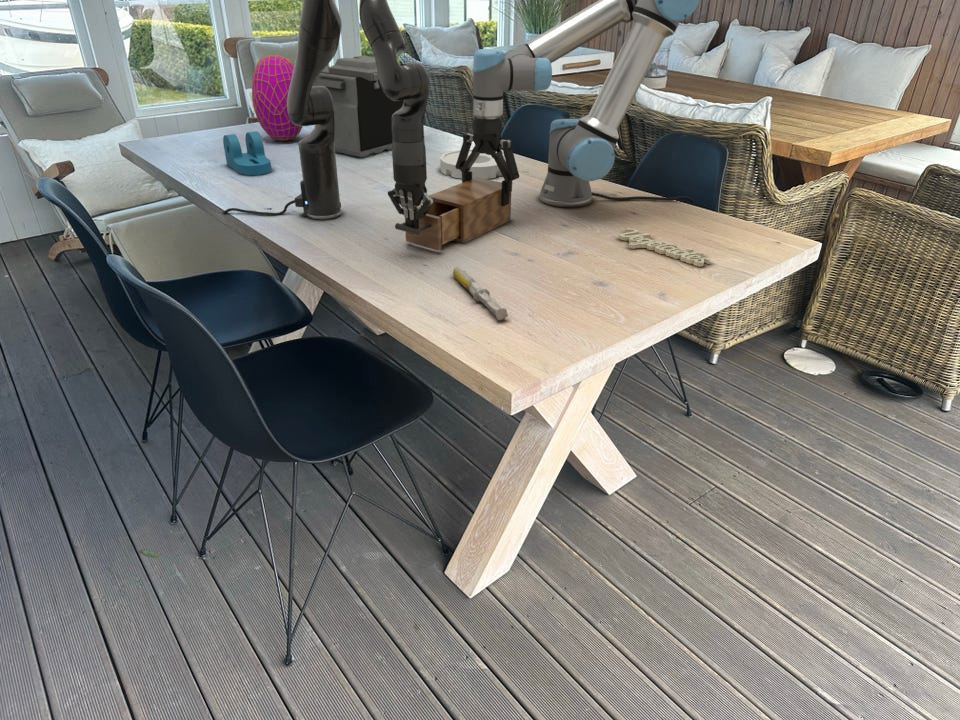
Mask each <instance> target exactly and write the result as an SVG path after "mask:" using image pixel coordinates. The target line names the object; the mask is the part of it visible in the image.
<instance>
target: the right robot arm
mask: <svg viewBox="0 0 960 720" xmlns="http://www.w3.org/2000/svg"><path fill="white" fill-rule="evenodd" d="M699 2H700V0H597V1H595V2H593V3H592V4H590V5H588V6H586V7H585V8H583V9H581V10H579V11H578V12H576V13H574V14H573V15H571V16H570V17H568V18H567V19H565V20H563V21H561V22H560V23H558V24H556V25H554V26H552V27H551V28H549V29H548V30H546V31H544V32H543V33H541V34H540V35H538V36H536V37H534V38H533V39H531V40H529V41H528V42H525V44H523V45H520V46H519V47H517V48H515V49H509V50H506V51H504V50H502V49H499V48H498V49H497V48H480V49H477V50H476V51H475V52H474V54H473V64H472V66H473V67H472V114H473V115H474V116H473V117H472V131H473V133H472V132H468V133H465V134H463V135H462V144H461V148H460V149H459V150H460V154H459V157H458V160H457V163H456V166H455V167H456V169H459V170H461V172H462V179H461V183H463V182H466V181H468V180H471V179H472V172H471V171H469V170H471V169H470V168H471V167H472V165H473V164H474V162H475V161H476V159H477V157H478V156H479V154H480V153H481V154H484V153H485V154H487V155H491V156H492V158H494V160H495V162H496V164H497V166H498V168H499V170H500V172H501V174H502V176H501V177H502V178H503V180H501V182H502V195H501V206H505V205H507V204H509V193H511V194H512V192H513V181H515V180H517V179H519V178H520V174H519V173H520V172H519V168H518V166H517V161H516V158H515V154H514V150H513V140H512V139H503V138H502V132H503V118H502V116H503V113H504V92H514V91H515V92H522V91H523V92H526V91H527V92H528V91H529V92H531V91H533V92H539V91H546V90H548V89H549V88H550V86H551V84H552V79H553V68H552V64H553V63H554V62H556V61H557V60H559V59H561V58H563V57H564V56H566V55H568V54H569V53H571V52H573V51H575V50H576V49H578V48H580V47H582V46H584V45H585V44H587V43H588V42H590V41H592V40H594V39H595V38H597V37H598V36H600V35H602V34H604V33H605V32H607V31H609V30H610V29H613V28H614V27H616V26H617V25H620V24H621V23H623V24H629V23H632V22H633V24H632V26H631V28H630V30H629V32H628V34H627V36H626V38H625V40H624V42H623V44H622V46H621V48H620V50H619V52H618V54H617V57H616V58H615V61H614V62H613V64H612V67H611V68H610V70H609V72H608V75H607V77H606V79H605V81H604V83H603V85H602V86H601V88H600V91H599V93H598V95H597V97H596V99H595V101H594V102H593V105H592V106H591V108H590V111H589V113H588V114H587V115H585V116H582V117H580V118H558V119H554V120H552V122H551V123H550V127H549V128H550V129H549V132H548V134H549V141H548V142H549V144H548V156H547V157H548V159H547V173H546V176H545V178H544V181H543V184H542V187H541V189H540V192H539V200H540V202H542V203H543V204H546V205H549V206H553V207H558V208H559V207H560V208H580V207H584V206H588V205H589V204H591V203H592V199H593V197H598V198H601V199H606V200H609V201H636V200H649V201H668V202H670V201H671V202H672V201H678V200H687V201H689V202H690V203H693V204H694V203H695V200H694V199H693V198H692V197H690V196H687V195H680V196H674V197H667V196H664V197H663V196H644V195H643V196H641V195H639V196H621V197H617V196H609V195H605V194H601V193H596V192H592V188H591V184H590V182H595V181H598V180H601V179H602V178H604V177H605V176H606V175H608V174H609V172H610V171H611V170H612V168H613V166H614V163H615V158H616V155H615V147H616V146H617V143H618V142H619V140H620V136H619V131H618V130H619V127H620V126H621V123H622V122H623V119H624V117H625V116H626V114H627V112H628V110H629V108H630V106H631V104H632V102H633V100H634V98H635V97H636V95H637V92H638V90H639V89H640V86H641V85H642V83H643V81H644V79H645V77H646V75H647V74H648V71H649V69H650V68H651V66H652V64H653V62H654V60H655V58H656V56H657V54H658V53H659V50H660V48H661V46H662V44H663V43H664V41H665V39H666V38H668V37H672V36H674V34H675V33H676V31H677V29H678V27H679V25H680V23H681V21H684V20H686V19H687V18H689V17H690V16H691V15H692V14H693V13H694V11H696V9H697V7H698V5H699ZM472 143H474V147H473V148H472V152H471V154H470V156H469V157H468V159H467V156H468V153H469V150H470V149H471V147H472ZM496 152H497V153H496ZM502 154H504V157H505V159H504V157H503V155H502ZM466 159H467V160H466ZM505 160H506V161H505Z"/></svg>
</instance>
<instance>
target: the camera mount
mask: <svg viewBox="0 0 960 720" xmlns="http://www.w3.org/2000/svg"><path fill="white" fill-rule="evenodd" d="M222 140H223V141H222V143H223V149H224V150H223V151H224V156H225V161H226V165H227V166H228V167H230V168H231V169H232V170H234V171H236V172H237V173H238V174H239V175H244V176H260V175H265V174H268V173H271V172H272V164H271V159H270V158H268V157H267V156H266V153H265V145H264V141H263V139H262V136H261V134H260V132H258V131H247V132H246V133H245V146H246V152H243V151H242V150H243V149H242V146H241V142H240V140H239V138H238V135H236V134H235V133H231V134H224V135H223V138H222Z"/></svg>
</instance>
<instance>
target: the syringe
mask: <svg viewBox="0 0 960 720" xmlns="http://www.w3.org/2000/svg"><path fill="white" fill-rule="evenodd" d="M452 274H453V277H454V279H455V280H457V281H458V282H459V283H460V285H462V287H464V289H466V290H467V291H468V293H470V295H471V296H472V298H473V300H474V302H477V303H478V302H480V303H482V304H483V305H484V306H485V307H486V308H487V309H488V310H489V311H490V312H491V313H492V314H493V315H494V316H495V317H496V320H497V321H503V320H504V319H506V318H507V317H509V314H508V310H507V308H506V307H502V306H501V305H500V303H498V302H497V301H496V300H494V299H493V298H492V297H491V296H490V295H491V293H490V290H488V289H486V288H483V287H482V286H481V285H480V284H479V283H478V282H477V281H476V280H474V278H473V277H471V275H469V274H468V273H467V272H466V270H465V269H464V268H463V267H462V266H456V267H454V268H453V271H452Z"/></svg>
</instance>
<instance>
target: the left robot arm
mask: <svg viewBox="0 0 960 720" xmlns="http://www.w3.org/2000/svg"><path fill="white" fill-rule="evenodd" d="M358 6H359V8H358V12H359V14H358V15H359V21H360V22H359V23H360V25H361V28H362V31H363V33H364V35H365V37H366V40H367V42H368V44H369V46H370V48H371V51H372V53H373V55H374V56H373V57H375V61H376V66H377V71H378V76H379V82H380V85H381V88H382V90H383V92H384V93H385V95H386V96H387V97H388V98H390V99H391V100H393V101H402V100H404V103H403V106H402V108H401V109H399V110H398V111H396V112H395V113H394V114H393V115H392V118H391V124H392V139H393V140H392V149H391V157H392V173H393V174H392V175H393V176H392V177H393V181H394V182H395V183H394V188H393V189H392V190H388V191H387V196H388V198H389V199H390V201H391V203H392V204H393V207H394V208H395V209H396V211H397V213H398V214H399V215H403V217H404V219H405V218H406V225H407V226H410V227H414V228H418V229H419V218H421V217H424V216H425V215H426V214H427V213H428V211H429V210H430V208H431V207H432V206H433V204H434V203H435V199H434V198H430V196H429V194H428V189H427V187H426V182H427V179H428V176H427V175H428V173H427V151H426V143H425V128H424V127H425V125H424V124H425V123H424V119H425V115H426V110H427V107H428V106H427V105H428V100H429V95H430V87H431V81H430V76H429V74H428V71H427V69H426V68H425V66H424V65H423V64H421V63H420V62H406V63H399V61H398V56H401V54H402V53H403V52H404V50H405V48H406V42H405V38H404V37H403V34H402V32H401V29H400V28H399V25H398V23H397V21H396V19H395V16H394V15H393V12H392V10H391V8H390V5H389V2H388V0H359V5H358ZM342 23H343V22H342V17H341V13H340V11H339V8H338V7H337V4H336V2H335V0H302V6H301V13H300V18H299V27H298V35H297V36H298V37H297V44H296V45H297V46H296V54H295V60H294V64H293V65H294V70H293V75H292V79H291V83H290V87H289V91H288V97H287V112H288V116H289V118H290V120H291V122H292V123H293V124H294V125H296V126H303V127H310V126H314V128H313V129H312V131H311V132H310V133H308V134H307V135H306V136H303V138H301V139H300V140H299V142H298V152H299V159H300V167H301V175H302V180H301V181H300V183H299V186H300V194H299V195H297V196H295V197H294V200H291V201H288V202H287V203H285V204H284V208H283V210H282V211H279V212H270V211H269V212H267V211H257V210H247V209H242V208H237V207H230V208H227V209H226V210H224V211H222V215H226V214H228V213H229V212H233V211H234V212H240V213H245V214H253V215H260V216H282V215H284V214H285V213H286V212H287V210H288V208H289V206H291V205H292V204H294V205H295V207H296V208H302V209H303V216H304V217H307V218H309V219H313V220H330V219H336V218H338V217H340V216H341V215H342V209H341V208H342V202H341V197H340V189H339V178H338V166H337V158H336V152H335V119H334V104H333V99H332V96H331V93H330V91H329V90H328V89H327V88H326V87H324V86H313V83H314V81H315V80H316V78H317V77H318V76H319V74H320V73H321V72H324V70H325V69H326V67H328V65H329V64H330V63H331V61H332V60H333V59H334V57H335V55H336V53H337V51H338V49H339V44H340V39H341V33H342V26H343V24H342ZM409 234H412V233H409ZM413 235H414V234H413Z"/></svg>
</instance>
